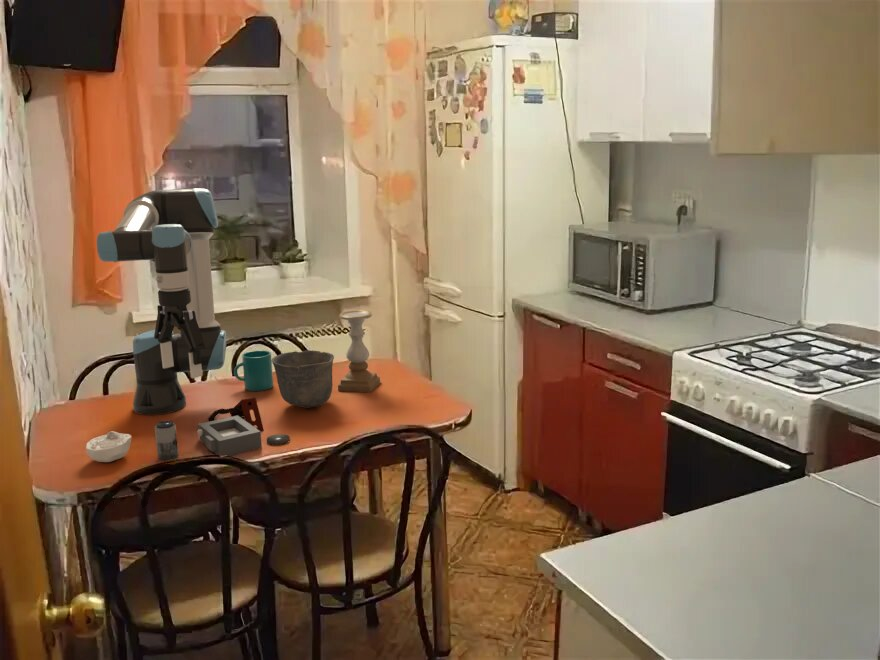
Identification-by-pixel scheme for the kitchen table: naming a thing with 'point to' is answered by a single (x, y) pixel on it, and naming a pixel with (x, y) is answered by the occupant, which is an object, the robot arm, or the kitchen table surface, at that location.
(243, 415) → the bracket
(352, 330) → the candle holder
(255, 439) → the grey square tray
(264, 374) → the cup
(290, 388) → the bowl
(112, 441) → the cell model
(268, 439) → the lens cap
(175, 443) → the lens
